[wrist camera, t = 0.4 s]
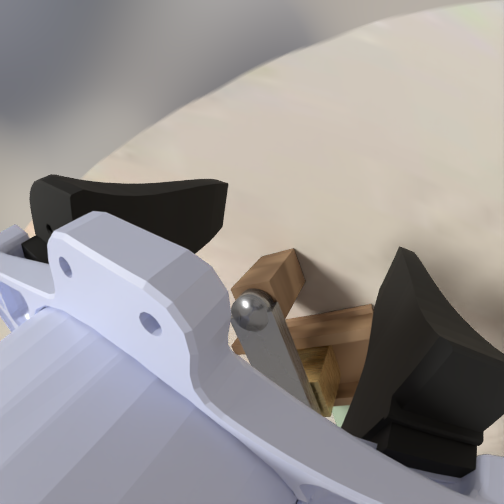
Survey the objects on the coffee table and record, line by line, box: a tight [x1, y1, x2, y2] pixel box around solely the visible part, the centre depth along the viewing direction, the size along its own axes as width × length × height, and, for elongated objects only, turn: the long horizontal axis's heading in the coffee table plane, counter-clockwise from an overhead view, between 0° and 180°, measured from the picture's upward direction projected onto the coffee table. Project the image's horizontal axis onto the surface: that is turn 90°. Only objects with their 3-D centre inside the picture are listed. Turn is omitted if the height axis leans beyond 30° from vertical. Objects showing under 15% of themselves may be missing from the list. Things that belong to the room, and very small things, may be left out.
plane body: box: [231, 248, 373, 406], centre depth 23 cm, size 12×15×6 cm
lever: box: [230, 288, 322, 415], centre depth 20 cm, size 3×14×1 cm, turn 24°
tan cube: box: [297, 345, 341, 417], centre depth 24 cm, size 4×4×5 cm
